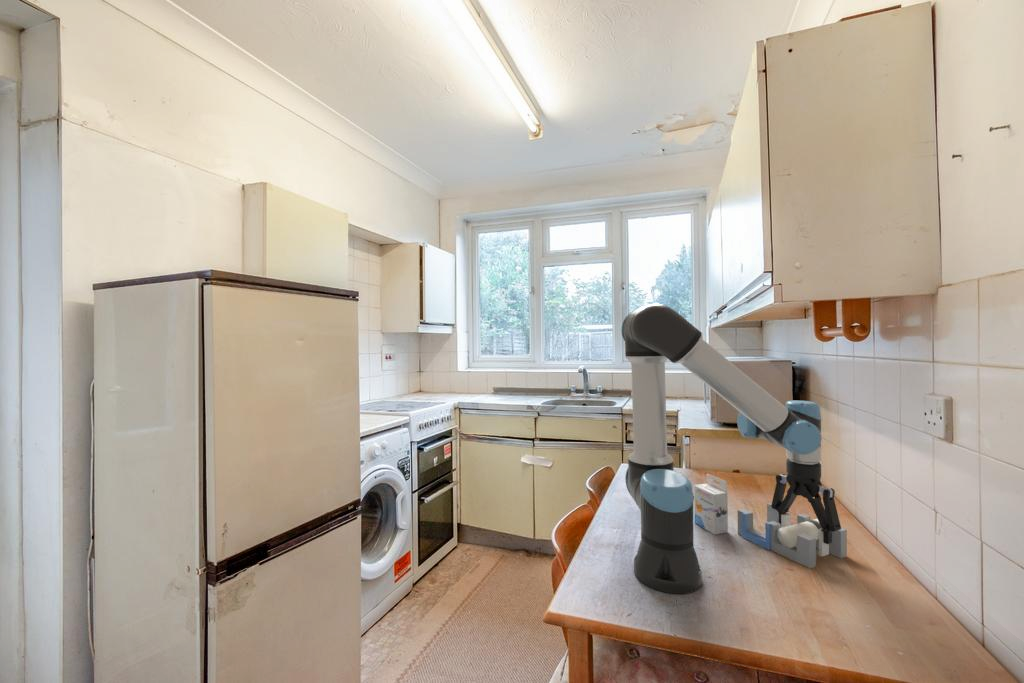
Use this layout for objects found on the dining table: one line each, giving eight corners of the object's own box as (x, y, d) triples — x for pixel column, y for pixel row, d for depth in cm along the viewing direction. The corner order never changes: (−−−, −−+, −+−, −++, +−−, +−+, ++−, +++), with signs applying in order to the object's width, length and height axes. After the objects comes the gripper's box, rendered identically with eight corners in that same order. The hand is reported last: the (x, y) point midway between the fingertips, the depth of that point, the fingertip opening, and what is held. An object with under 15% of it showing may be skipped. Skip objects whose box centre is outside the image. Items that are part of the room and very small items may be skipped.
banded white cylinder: (795, 551, 106) (795, 532, 106) (777, 543, 111) (777, 524, 111) (830, 541, 111) (830, 522, 111) (811, 533, 116) (811, 515, 116)
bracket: (807, 568, 103) (807, 540, 103) (736, 534, 121) (736, 510, 121) (848, 555, 108) (848, 529, 108) (774, 524, 127) (774, 502, 127)
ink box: (693, 523, 129) (693, 474, 129) (707, 520, 130) (706, 472, 130) (714, 535, 121) (714, 483, 121) (728, 532, 122) (728, 481, 122)
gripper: (859, 470, 102) (860, 563, 102) (773, 449, 123) (774, 527, 123) (839, 474, 100) (840, 569, 100) (755, 452, 120) (756, 531, 120)
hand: (804, 546), depth 111 cm, fingers open, 9 cm apart
